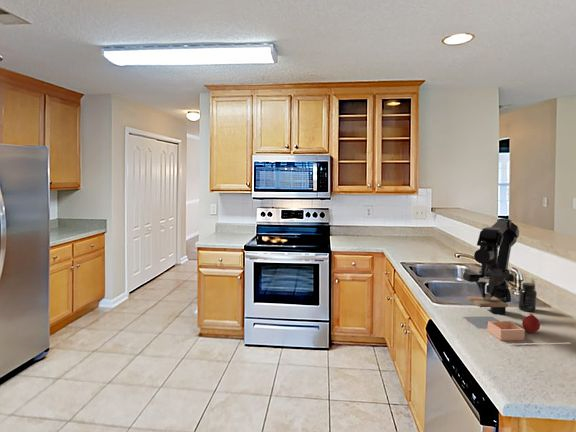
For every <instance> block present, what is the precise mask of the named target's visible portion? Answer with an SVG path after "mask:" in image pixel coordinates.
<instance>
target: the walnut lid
mask: <svg viewBox="0 0 576 432" xmlns="http://www.w3.org/2000/svg"><path fill="white" fill-rule="evenodd" d="M466 299H467V300H469V301H470V302H471V303H473V304H475V305H476V306H478V307H480V308H490V307H506V308H508V307H509V304H508V302H506V303H505V302H503V301H501V300H499V299H498V298H496V297H494V296H493V297H492V298H491V294H490V293H486V292H485V297H484V298H483V297H482V295H467V296H466Z"/></svg>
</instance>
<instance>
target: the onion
mask: <svg viewBox="0 0 576 432" xmlns="http://www.w3.org/2000/svg"><path fill="white" fill-rule="evenodd" d="M521 322H522V323H521V324H522V326H523V327H522V328H523V329H524V330H525V332H528V334H534V333H537V332H538V331H539V329H540V327H541V323H540V321H539V319H538V318H537V316H535V315H534V314H533V312H529V315H527V316H525V317H524V318H523V320H522V321H521Z"/></svg>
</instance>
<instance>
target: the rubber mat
mask: <svg viewBox="0 0 576 432" xmlns="http://www.w3.org/2000/svg"><path fill="white" fill-rule="evenodd" d="M462 318H464V319H465V320H466V321H467V322H468V323H470V324H472V325H473V326H474V327H476V328H477V329H487V328H488V321H500V320H498V319H497V318H496V317H494V316H488V315H487V316H462Z"/></svg>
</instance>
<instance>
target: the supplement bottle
mask: <svg viewBox="0 0 576 432" xmlns="http://www.w3.org/2000/svg"><path fill="white" fill-rule="evenodd" d="M521 287H522V288H520V289H519V291H518V292H519V294H518V309H519V310H520V311H523V312H527V313H533V312H536V311H537V309H536V308H537V295H538V294H537V290H536V288H535V287H536V284H535V283H532V282H522V286H521Z"/></svg>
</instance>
